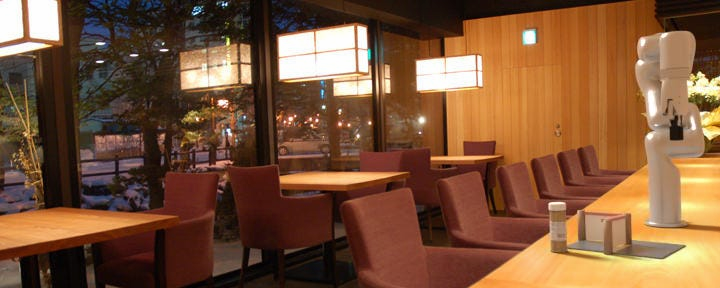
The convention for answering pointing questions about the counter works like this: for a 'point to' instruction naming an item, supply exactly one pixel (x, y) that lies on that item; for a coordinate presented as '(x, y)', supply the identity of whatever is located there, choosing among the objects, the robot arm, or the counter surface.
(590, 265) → the counter surface
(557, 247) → the sprinkles bottle
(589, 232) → the fence fixed
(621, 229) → the fence gate
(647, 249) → the card
